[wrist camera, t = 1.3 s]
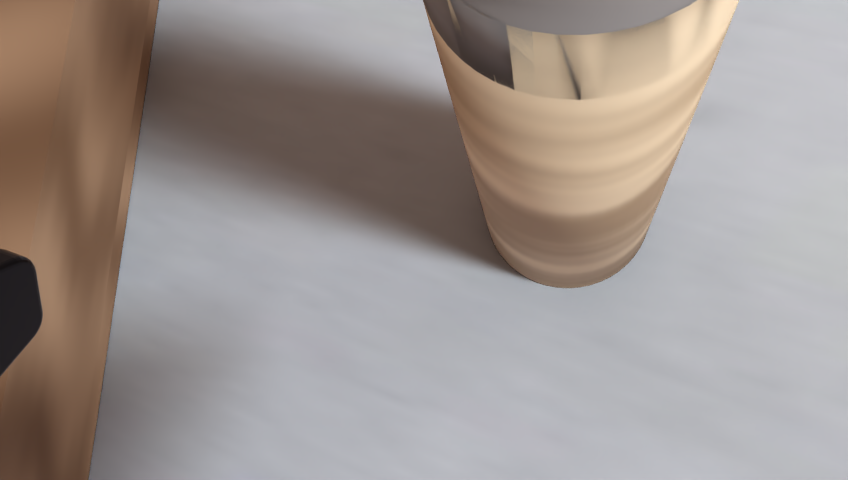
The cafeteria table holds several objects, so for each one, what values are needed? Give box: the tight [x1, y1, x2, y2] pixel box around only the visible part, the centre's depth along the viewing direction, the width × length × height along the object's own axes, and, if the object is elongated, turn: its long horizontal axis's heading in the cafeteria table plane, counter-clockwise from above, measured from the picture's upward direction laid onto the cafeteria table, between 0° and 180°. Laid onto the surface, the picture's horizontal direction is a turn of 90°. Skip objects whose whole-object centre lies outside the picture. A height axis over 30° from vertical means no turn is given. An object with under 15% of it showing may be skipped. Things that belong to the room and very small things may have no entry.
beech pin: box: [423, 0, 739, 288], centre depth 15 cm, size 4×4×13 cm
